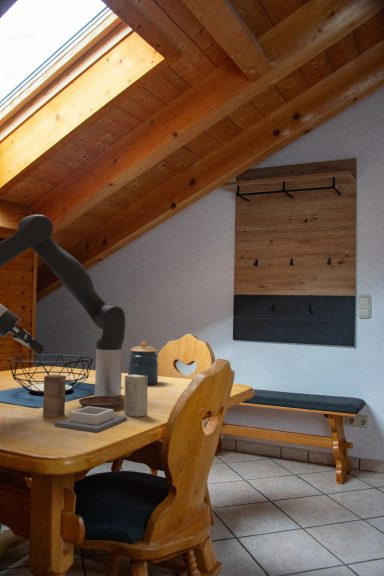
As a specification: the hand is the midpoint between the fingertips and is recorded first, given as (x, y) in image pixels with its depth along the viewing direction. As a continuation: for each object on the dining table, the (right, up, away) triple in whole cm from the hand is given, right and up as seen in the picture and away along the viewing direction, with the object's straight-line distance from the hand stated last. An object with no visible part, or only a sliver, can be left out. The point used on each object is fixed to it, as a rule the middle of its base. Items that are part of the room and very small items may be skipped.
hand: (42, 351), depth 156 cm
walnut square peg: (+4, -19, -2) cm, 20 cm away
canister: (+25, -21, +61) cm, 69 cm away
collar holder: (+17, -20, -9) cm, 28 cm away
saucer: (+16, -20, +12) cm, 28 cm away
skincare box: (+28, -20, +2) cm, 35 cm away
